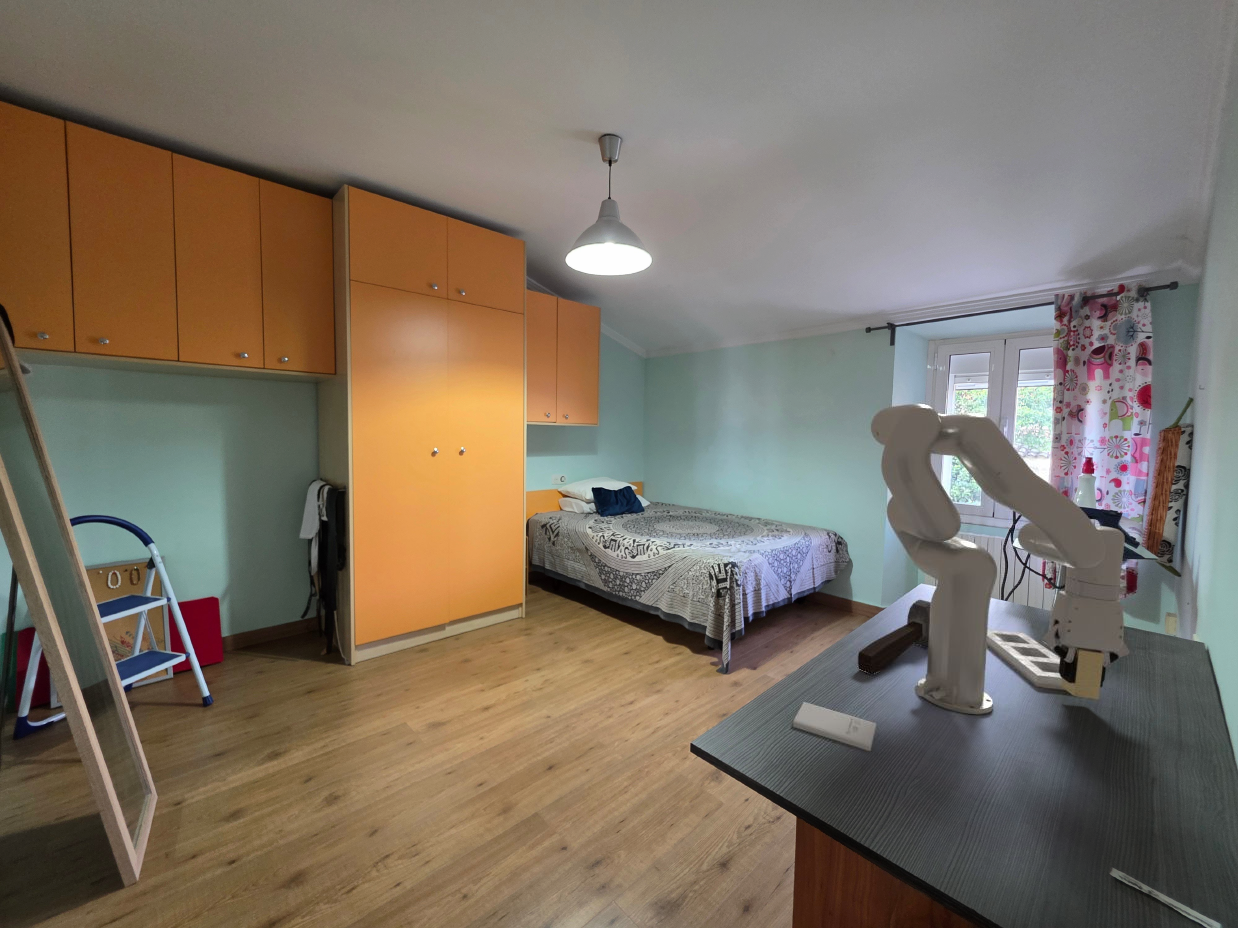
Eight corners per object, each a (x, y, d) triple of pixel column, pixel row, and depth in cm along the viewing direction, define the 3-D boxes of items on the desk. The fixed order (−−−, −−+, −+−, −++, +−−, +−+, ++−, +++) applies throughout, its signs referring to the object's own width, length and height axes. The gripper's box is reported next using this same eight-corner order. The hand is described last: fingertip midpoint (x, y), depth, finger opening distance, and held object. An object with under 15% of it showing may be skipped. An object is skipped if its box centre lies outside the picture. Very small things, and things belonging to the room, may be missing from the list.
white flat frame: (1093, 692, 103) (1094, 681, 103) (1036, 686, 105) (1037, 674, 105) (1023, 642, 128) (1023, 632, 128) (978, 638, 131) (979, 628, 130)
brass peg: (1098, 699, 96) (1103, 653, 95) (1073, 695, 97) (1079, 650, 96) (1084, 689, 100) (1089, 645, 99) (1060, 685, 101) (1065, 642, 100)
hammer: (875, 693, 109) (939, 644, 126) (874, 644, 107) (938, 601, 124) (854, 684, 113) (918, 638, 129) (852, 637, 111) (918, 596, 128)
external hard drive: (803, 708, 96) (876, 730, 90) (792, 729, 90) (870, 754, 83) (804, 700, 96) (876, 721, 90) (793, 720, 89) (870, 744, 83)
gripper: (1128, 589, 99) (1117, 679, 100) (1029, 579, 103) (1020, 666, 104) (1159, 601, 91) (1147, 698, 93) (1052, 589, 95) (1042, 683, 96)
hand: (1080, 680), depth 98 cm, fingers closed on brass peg, 4 cm apart
